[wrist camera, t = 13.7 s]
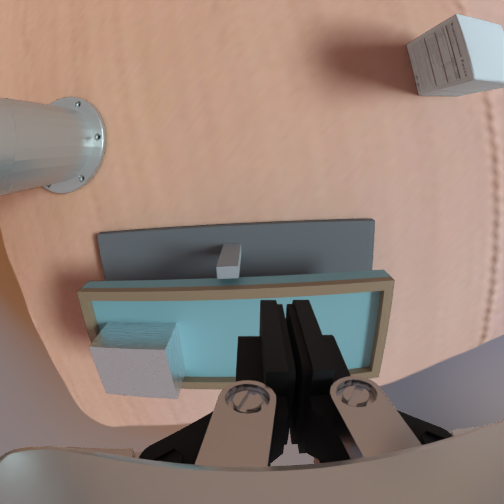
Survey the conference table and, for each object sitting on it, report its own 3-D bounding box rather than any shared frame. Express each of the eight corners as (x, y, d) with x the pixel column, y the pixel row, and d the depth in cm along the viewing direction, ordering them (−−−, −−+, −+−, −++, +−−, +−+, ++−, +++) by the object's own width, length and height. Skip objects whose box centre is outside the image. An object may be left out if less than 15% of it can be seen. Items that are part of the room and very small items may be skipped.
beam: (113, 368, 36) (104, 382, 33) (89, 281, 32) (76, 291, 29) (371, 362, 35) (378, 377, 32) (383, 269, 32) (394, 280, 29)
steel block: (121, 366, 33) (106, 393, 28) (107, 322, 31) (88, 346, 27) (186, 368, 33) (177, 398, 28) (176, 322, 31) (165, 349, 26)
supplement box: (447, 47, 30) (503, 24, 18) (459, 97, 32) (520, 87, 20) (403, 43, 30) (455, 11, 18) (416, 96, 32) (475, 80, 20)
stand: (129, 362, 44) (109, 400, 35) (100, 232, 38) (65, 252, 29) (359, 355, 43) (377, 394, 34) (371, 218, 37) (402, 236, 29)
